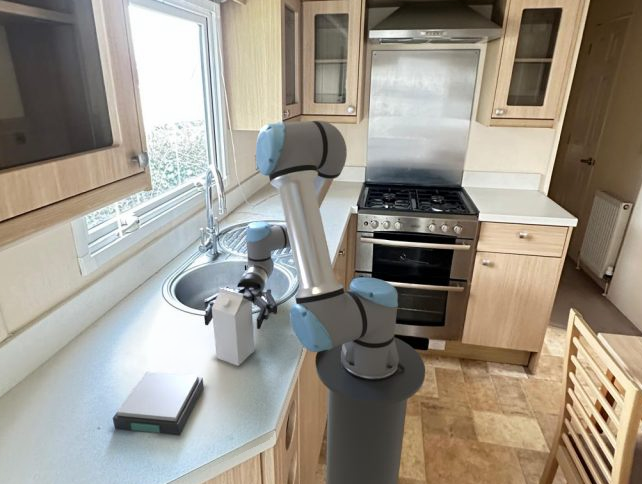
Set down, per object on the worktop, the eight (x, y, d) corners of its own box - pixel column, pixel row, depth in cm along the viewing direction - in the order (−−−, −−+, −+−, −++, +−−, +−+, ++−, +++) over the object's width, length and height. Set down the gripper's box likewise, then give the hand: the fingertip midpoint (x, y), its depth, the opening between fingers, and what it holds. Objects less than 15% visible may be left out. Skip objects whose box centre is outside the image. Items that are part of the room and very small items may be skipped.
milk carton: (233, 343, 112) (228, 281, 105) (254, 351, 108) (251, 287, 102) (216, 358, 106) (210, 293, 99) (238, 366, 103) (233, 300, 96)
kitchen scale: (203, 387, 95) (202, 374, 94) (178, 437, 82) (176, 422, 81) (147, 383, 97) (144, 369, 96) (113, 430, 84) (110, 415, 82)
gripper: (293, 297, 122) (281, 338, 102) (213, 292, 125) (186, 331, 105) (293, 274, 119) (280, 312, 100) (211, 270, 122) (183, 306, 103)
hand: (231, 322), depth 102 cm, fingers open, 13 cm apart
